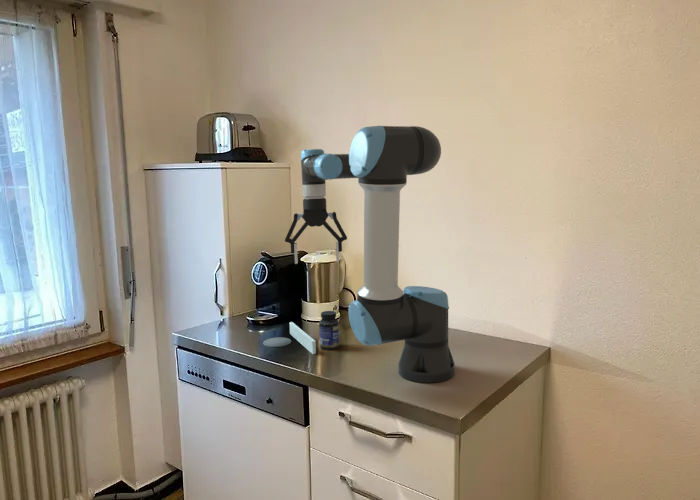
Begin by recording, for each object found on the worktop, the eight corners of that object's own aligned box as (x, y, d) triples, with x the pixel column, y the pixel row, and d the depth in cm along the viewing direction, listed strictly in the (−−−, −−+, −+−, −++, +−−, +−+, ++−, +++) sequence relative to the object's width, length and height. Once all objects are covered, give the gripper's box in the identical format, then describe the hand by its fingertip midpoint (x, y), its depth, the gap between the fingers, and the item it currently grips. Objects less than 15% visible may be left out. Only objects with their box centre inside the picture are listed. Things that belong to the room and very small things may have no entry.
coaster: (294, 344, 171) (294, 343, 171) (267, 348, 167) (267, 348, 167) (286, 336, 179) (286, 335, 179) (260, 340, 175) (259, 339, 175)
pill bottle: (336, 350, 164) (335, 315, 162) (317, 349, 165) (316, 315, 164) (341, 344, 170) (340, 310, 168) (322, 343, 171) (321, 309, 170)
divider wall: (315, 353, 162) (315, 341, 161) (312, 354, 161) (312, 341, 161) (292, 333, 182) (292, 322, 182) (289, 333, 182) (289, 322, 181)
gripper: (352, 195, 178) (354, 259, 181) (277, 198, 177) (280, 261, 180) (353, 197, 170) (355, 262, 173) (274, 199, 169) (277, 265, 173)
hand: (317, 262), depth 177 cm, fingers open, 13 cm apart
